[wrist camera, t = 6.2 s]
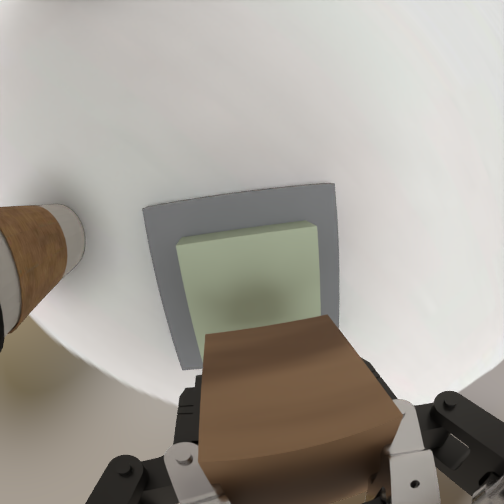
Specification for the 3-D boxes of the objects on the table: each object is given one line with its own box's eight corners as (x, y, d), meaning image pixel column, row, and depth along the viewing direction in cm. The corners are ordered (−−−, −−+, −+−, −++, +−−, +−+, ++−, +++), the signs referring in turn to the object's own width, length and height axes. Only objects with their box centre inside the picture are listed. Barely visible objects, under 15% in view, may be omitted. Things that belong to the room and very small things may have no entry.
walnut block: (205, 334, 10) (198, 462, 5) (327, 314, 11) (403, 415, 5) (226, 415, 12) (233, 520, 6) (324, 397, 12) (368, 490, 6)
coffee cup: (69, 301, 21) (-26, 404, 6) (15, 239, 19) (-97, 295, 4) (116, 236, 20) (-15, 326, 6) (55, 169, 18) (-88, 180, 3)
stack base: (147, 206, 20) (131, 212, 16) (327, 182, 21) (349, 184, 17) (183, 360, 23) (179, 388, 20) (332, 336, 24) (348, 360, 21)
